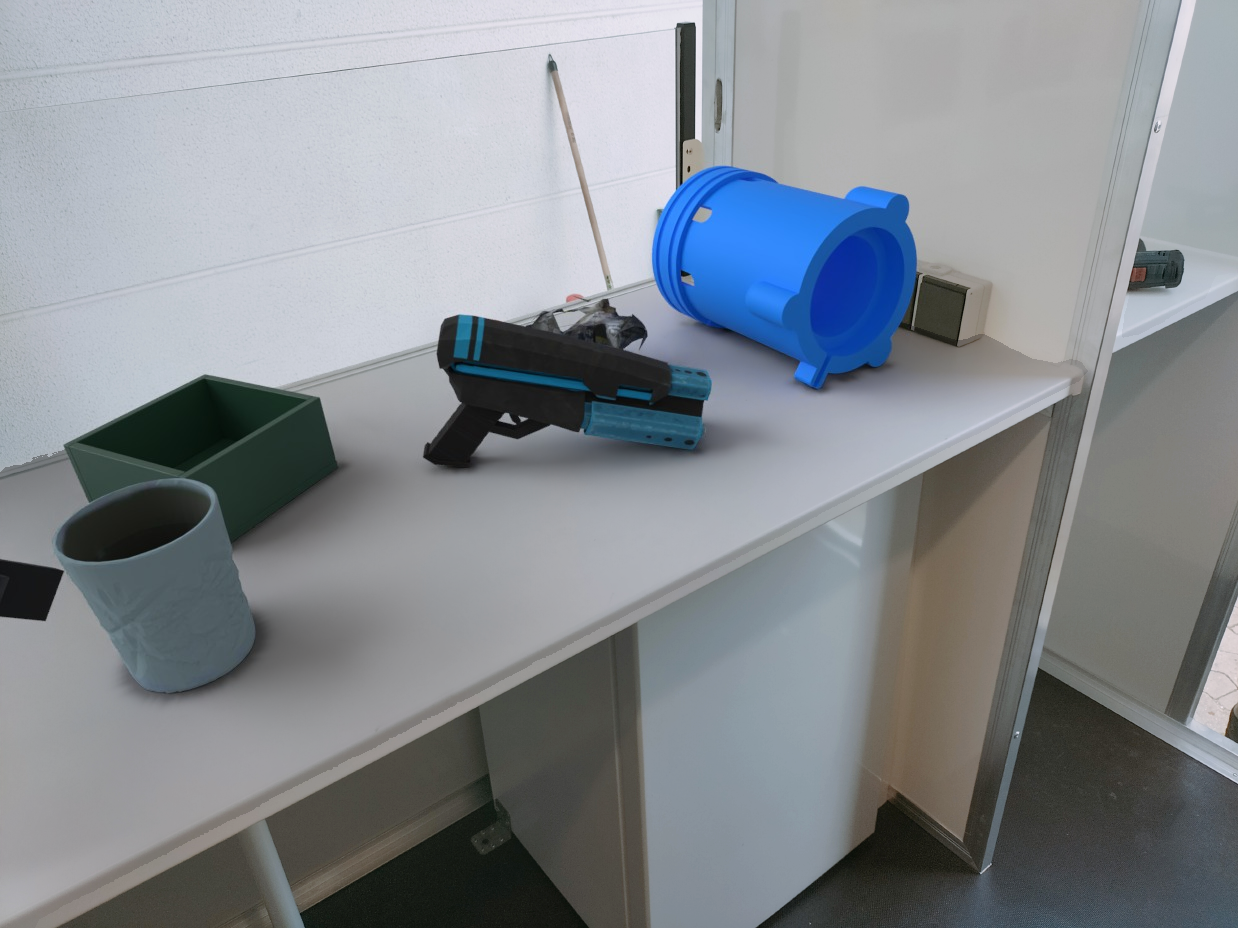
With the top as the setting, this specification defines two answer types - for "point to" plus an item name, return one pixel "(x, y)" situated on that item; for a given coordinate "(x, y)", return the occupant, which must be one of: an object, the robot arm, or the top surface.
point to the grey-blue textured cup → (161, 581)
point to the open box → (213, 447)
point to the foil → (597, 325)
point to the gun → (559, 389)
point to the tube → (789, 266)
